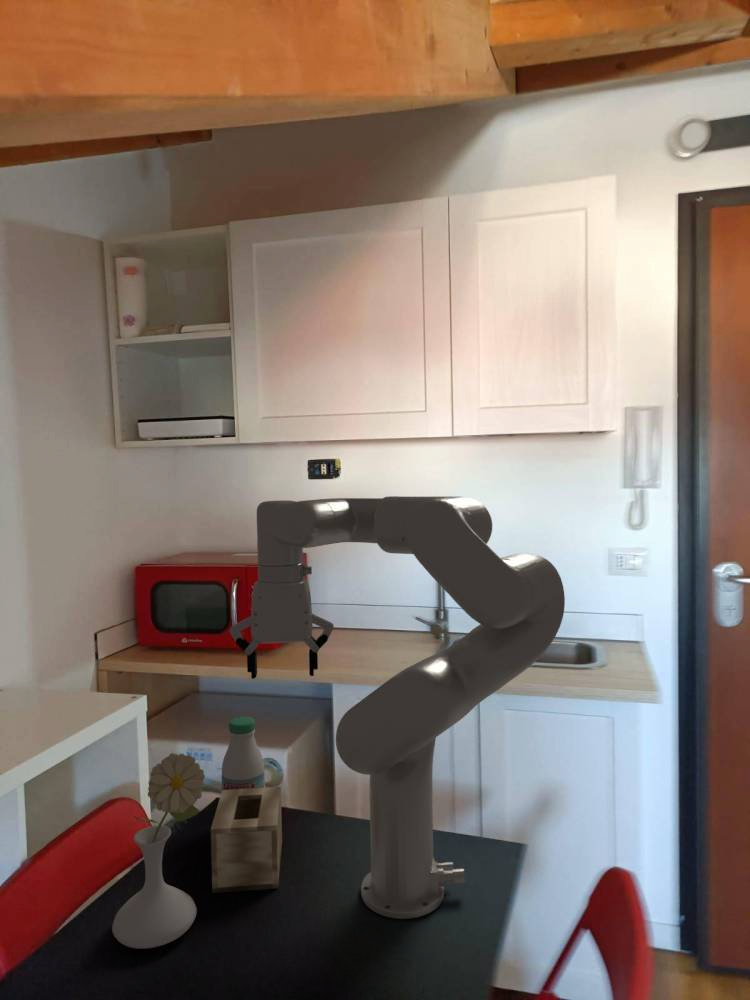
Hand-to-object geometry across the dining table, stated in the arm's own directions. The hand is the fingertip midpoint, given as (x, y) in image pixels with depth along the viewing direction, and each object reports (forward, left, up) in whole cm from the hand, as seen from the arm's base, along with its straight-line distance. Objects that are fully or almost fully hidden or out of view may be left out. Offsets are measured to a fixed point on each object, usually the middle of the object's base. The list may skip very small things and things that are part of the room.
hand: (283, 675), depth 115 cm
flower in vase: (+17, +18, -31) cm, 39 cm away
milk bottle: (+8, -8, -31) cm, 33 cm away
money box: (+6, +4, -30) cm, 31 cm away
